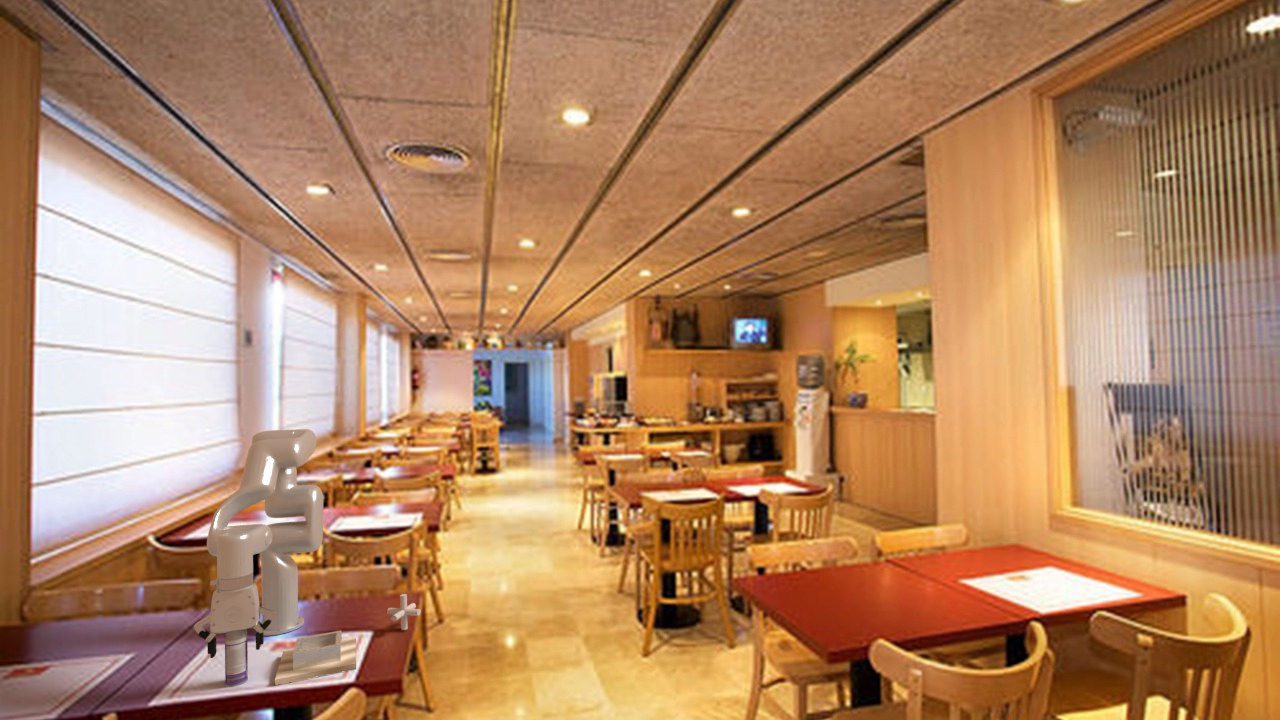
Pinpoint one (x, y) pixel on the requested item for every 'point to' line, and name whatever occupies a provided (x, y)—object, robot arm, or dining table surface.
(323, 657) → the duct collar
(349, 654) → the birch board
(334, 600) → the dining table surface
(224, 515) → the robot arm
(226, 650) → the container
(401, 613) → the pipe connector
